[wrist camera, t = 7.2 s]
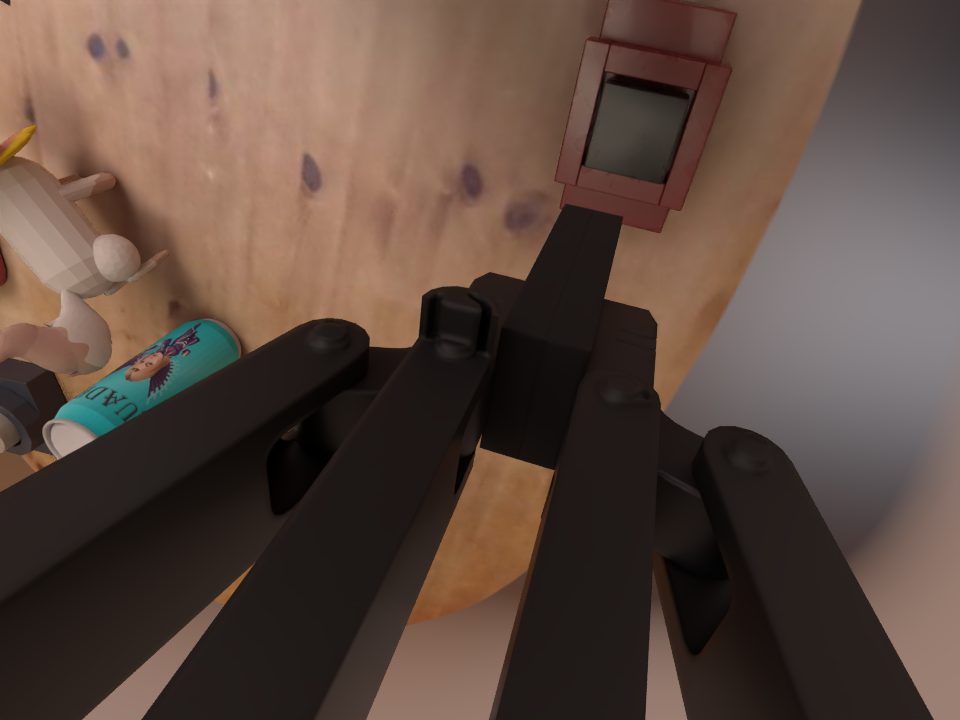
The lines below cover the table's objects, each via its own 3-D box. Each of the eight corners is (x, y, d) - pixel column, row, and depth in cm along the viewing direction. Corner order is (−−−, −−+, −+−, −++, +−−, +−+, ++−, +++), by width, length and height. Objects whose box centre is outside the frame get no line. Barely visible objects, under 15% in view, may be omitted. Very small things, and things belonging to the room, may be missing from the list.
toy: (62, 55, 40) (-202, 86, 28) (230, 289, 47) (76, 393, 35) (3, 115, 45) (-250, 163, 32) (165, 321, 52) (7, 424, 39)
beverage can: (242, 319, 49) (99, 429, 37) (252, 374, 52) (123, 492, 40) (184, 305, 50) (25, 408, 38) (197, 360, 53) (55, 471, 41)
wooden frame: (606, -13, 29) (597, -12, 26) (743, 13, 28) (751, 16, 25) (558, 196, 36) (546, 217, 33) (669, 223, 35) (668, 247, 32)
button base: (-3, 355, 61) (-51, 381, 57) (52, 367, 60) (7, 395, 56) (34, 427, 67) (-8, 455, 63) (85, 440, 65) (46, 470, 61)
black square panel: (608, 76, 28) (604, 81, 27) (689, 93, 28) (690, 99, 26) (587, 158, 31) (583, 167, 29) (662, 175, 30) (662, 185, 29)
